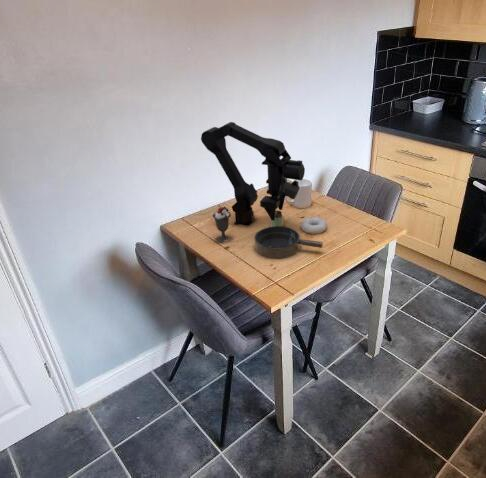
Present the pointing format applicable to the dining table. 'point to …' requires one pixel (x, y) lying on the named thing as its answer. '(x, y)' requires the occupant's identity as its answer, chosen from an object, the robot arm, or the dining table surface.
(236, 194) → the robot arm
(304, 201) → the cup
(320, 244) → the handle
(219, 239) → the sundae
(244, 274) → the dining table surface
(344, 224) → the dining table surface
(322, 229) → the donut
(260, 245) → the black frying pan
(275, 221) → the spice jar
